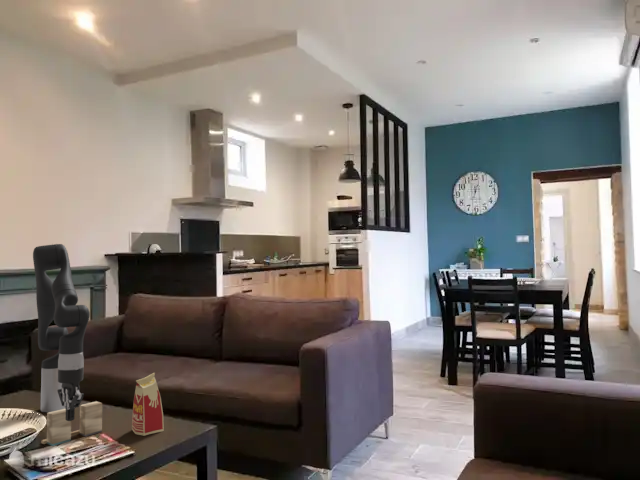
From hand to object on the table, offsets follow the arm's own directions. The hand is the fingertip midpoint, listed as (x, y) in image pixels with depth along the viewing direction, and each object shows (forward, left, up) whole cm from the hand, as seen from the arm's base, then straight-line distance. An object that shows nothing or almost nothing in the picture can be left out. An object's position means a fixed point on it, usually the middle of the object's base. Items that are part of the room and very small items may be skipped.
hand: (70, 420), depth 163 cm
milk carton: (+7, +24, -9) cm, 26 cm away
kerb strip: (-10, +5, -8) cm, 14 cm away
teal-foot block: (-7, 0, -8) cm, 11 cm away
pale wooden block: (-7, +11, -8) cm, 15 cm away
